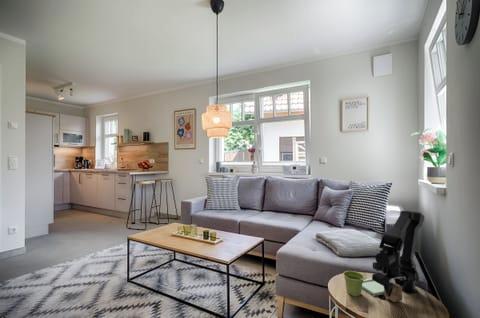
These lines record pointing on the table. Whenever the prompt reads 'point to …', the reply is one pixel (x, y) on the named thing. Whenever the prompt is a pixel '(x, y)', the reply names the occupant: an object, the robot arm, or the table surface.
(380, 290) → the green tray
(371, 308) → the table surface
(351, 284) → the plant pot
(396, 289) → the walnut block
